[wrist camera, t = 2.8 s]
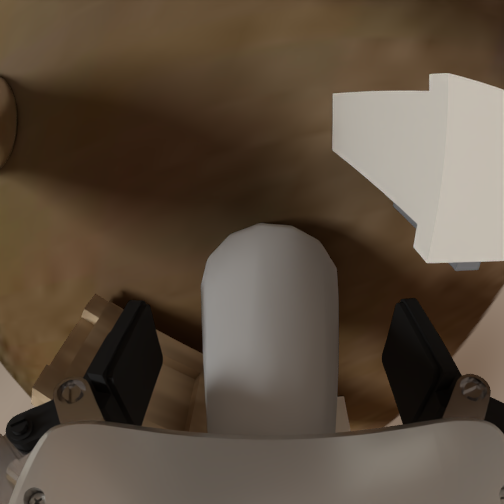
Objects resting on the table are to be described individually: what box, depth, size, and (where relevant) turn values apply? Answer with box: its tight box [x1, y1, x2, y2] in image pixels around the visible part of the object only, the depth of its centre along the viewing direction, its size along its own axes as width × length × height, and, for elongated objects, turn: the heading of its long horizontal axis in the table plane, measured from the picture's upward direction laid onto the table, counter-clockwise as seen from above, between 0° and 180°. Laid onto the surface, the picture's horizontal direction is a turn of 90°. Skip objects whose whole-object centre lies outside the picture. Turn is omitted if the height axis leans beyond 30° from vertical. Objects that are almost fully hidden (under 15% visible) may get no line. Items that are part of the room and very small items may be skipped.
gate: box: [31, 294, 208, 433], centre depth 15 cm, size 15×2×7 cm, turn 57°
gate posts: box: [332, 73, 504, 433], centre depth 12 cm, size 22×4×10 cm, turn 2°
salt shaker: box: [201, 223, 339, 435], centre depth 10 cm, size 6×6×13 cm
